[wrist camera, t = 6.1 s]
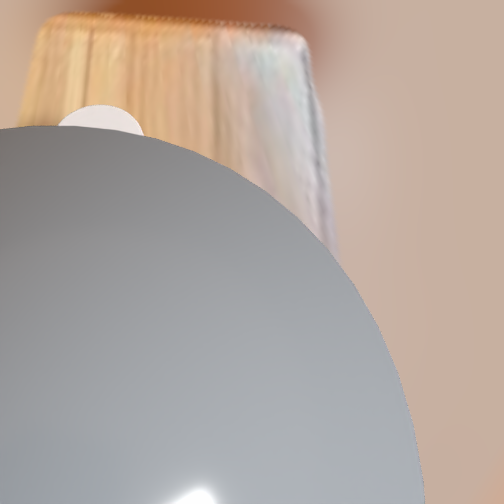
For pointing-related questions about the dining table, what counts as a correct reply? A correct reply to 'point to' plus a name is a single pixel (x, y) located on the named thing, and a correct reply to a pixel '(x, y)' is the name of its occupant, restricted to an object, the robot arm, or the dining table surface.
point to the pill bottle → (103, 119)
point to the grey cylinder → (181, 338)
